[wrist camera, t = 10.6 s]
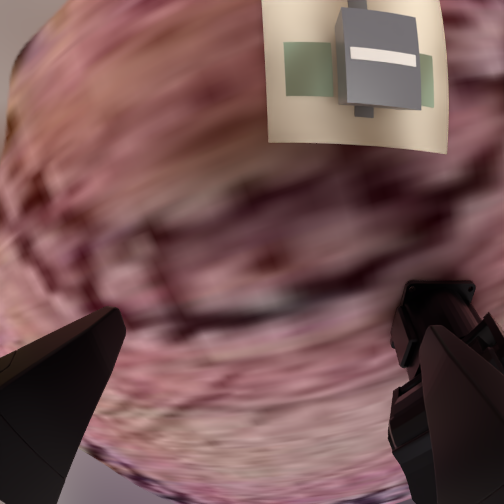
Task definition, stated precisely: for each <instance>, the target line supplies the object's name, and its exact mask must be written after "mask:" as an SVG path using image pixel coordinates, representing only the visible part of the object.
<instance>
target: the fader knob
mask: <svg viewBox="0 0 504 504" xmlns="http://www.w3.org/2000/svg"><path fill="white" fill-rule="evenodd" d="M335 40H336V56H337V75H338V105H352V106H366V107H377V108H386V109H395V110H421V71H420V55H419V43H418V33H417V25H416V17H411V16H406V15H401V14H395V13H389V12H382V11H375V10H367V9H358V8H347V7H341V9H340V12H339V15H338V18H337V21H336V24H335Z"/></svg>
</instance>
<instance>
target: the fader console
mask: <svg viewBox="0 0 504 504" xmlns="http://www.w3.org/2000/svg"><path fill="white" fill-rule="evenodd" d="M341 7H347V8H358V9H367V10H375V11H382V12H389V13H395V14H401V15H406V16H411V17H416V25H417V33H418V43H419V55H420V71H421V110H395V109H386V108H377V107H366V106H352V105H338V75H337V56H336V40H335V24H336V21H337V18H338V15H339V12H340V9H341ZM262 15H263V33H264V51H265V71H266V93H267V117H268V143H330V144H351V145H367V146H380V147H391V148H401V149H410V150H419V151H427V152H434V153H442V154H447V144H448V115H449V99H448V70H447V56H446V45H445V36H444V28H443V20H442V14H441V8H440V2H439V0H262Z"/></svg>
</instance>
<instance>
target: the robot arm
mask: <svg viewBox="0 0 504 504" xmlns="http://www.w3.org/2000/svg"><path fill="white" fill-rule="evenodd" d="M412 286H414V287H413V288H412V289H410V287H412ZM469 287H471V288H470V289H469ZM475 288H476V286H475V284H474V283H473V282H472V281H409V282H407V284H406V285H405V288H404V293H403V297H402V301H401V305H400V306H399V307H398V308H397V310H396V314H395V318H394V322H393V325H392V329H391V335H392V338H391V342H390V343H391V347H392V348H394V349H396V353H397V357H398V361H399V365H400V366H401V367H402V368H406V369H407V372H408V376H409V380H410V381H409V382H407V383H406V384H405V385H403V386H402V387H398V388H397V389H395V390H394V391H393V398H392V406H391V413H390V420H389V427H388V440H389V442H390V446H391V448H392V453H393V455H394V457H395V458H396V460H397V461H398V462H399V464H400V465H401V467H402V470H403V472H404V474H405V476H406V479H407V482H408V485H409V489H410V493H411V496H412V500H413V501H414V502H415V503H416V504H504V331H503V330H502V328H501V327H500V326H499V324H498V323H497V322H496V320H495V319H494V318H493V317H492V315H491V314H490V313H489V312H488V313H487V314H486V315H485V316H484V317H483V318H484V319H483V320H481V318H480V317H479V315H478V314H477V312H476V311H475V309H474V307H473V306H472V304H471V300H472V297H473V295H474V292H475ZM125 336H126V327H125V324H124V321H123V318H122V315H121V312H120V310H119V309H118V308H116V307H111V306H106V307H103V308H101V309H99V310H97V311H95V312H93V313H91V314H89V315H87V316H85V317H83V318H81V319H78V320H76V321H74V322H72V323H70V324H68V325H66V326H64V327H62V328H60V329H58V330H56V331H54V332H52V333H50V334H48V335H46V336H44V337H42V338H40V339H38V340H36V341H34V342H32V343H30V344H27V345H25V346H23V347H21V348H19V349H18V350H15V351H13V352H11V353H9V354H7V355H5V356H3V357H1V358H0V504H57V502H58V499H59V496H60V493H61V490H62V488H63V485H64V483H65V479H66V477H67V474H68V472H69V469H70V467H71V464H72V462H73V459H74V457H75V454H76V452H77V449H78V447H79V445H80V442H81V440H82V438H83V435H84V433H85V431H86V428H87V426H88V424H89V422H90V419H91V417H92V415H93V413H94V410H95V408H96V406H97V404H98V402H99V399H100V397H101V395H102V393H103V391H104V389H105V387H106V385H107V382H108V380H109V378H110V376H111V373H112V371H113V368H114V366H115V363H116V360H117V357H118V354H119V352H120V349H121V346H122V344H123V341H124V339H125Z"/></svg>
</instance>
